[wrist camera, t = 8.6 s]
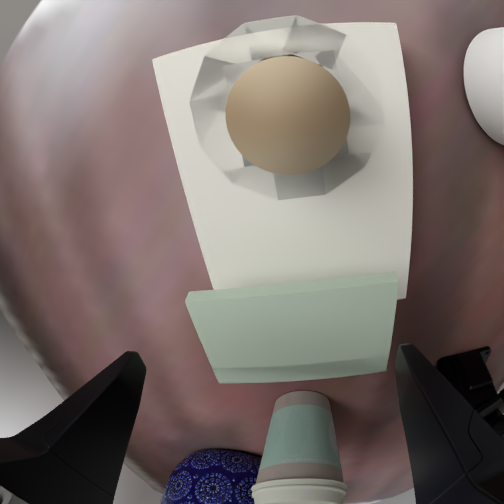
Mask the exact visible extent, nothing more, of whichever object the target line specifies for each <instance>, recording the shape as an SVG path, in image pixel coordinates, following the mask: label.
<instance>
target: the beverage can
mask: <svg viewBox="0 0 504 504" xmlns="http://www.w3.org/2000/svg"><path fill="white" fill-rule="evenodd" d="M464 86H465V91H466V96H467V99H468V102H469V105H470V108H471V110H472V112H473V115H474V117H475V118H476V120H477V122H478V123H479V125H480V126H481V128H482V129H483V130H484V131H485V132H486V134H487V135H488V136H490V137H491V138H492V139H493V140H495V141H496V142H498V143H500V144H502V145H504V27H501V28H494V29H488V30H485V31H482V32H481V33H479V34H478V35H477V36H476V37H475V38H474V39H473V40H472V42H471V43H470V45H469V47H468V49H467V52H466V56H465V60H464Z"/></svg>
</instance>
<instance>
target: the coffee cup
mask: <svg viewBox="0 0 504 504" xmlns="http://www.w3.org/2000/svg"><path fill="white" fill-rule="evenodd" d="M347 488H348V486H347V485H346V484H344V482H343V476H342V469H341V463H340V457H339V451H338V445H337V440H336V434H335V429H334V423H333V418H332V413H331V408H330V403H329V400H328V398H327V397H325V396H324V395H322V394H320V393H317V392H313V391H294V392H290V393H287V394H284V395H282V396H281V397H279V398H278V399H277V400H276V402H275V405H274V409H273V414H272V418H271V422H270V427H269V431H268V435H267V439H266V444H265V448H264V452H263V456H262V460H261V464H260V468H259V472H258V476H257V480H256V484H255V485H254V486H252V488H251V490H252V497H253V498H254V503H255V504H342V503H343V500H344V497H345V496H346V494H347V493H346V490H347Z"/></svg>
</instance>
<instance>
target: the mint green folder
mask: <svg viewBox="0 0 504 504" xmlns="http://www.w3.org/2000/svg"><path fill="white" fill-rule="evenodd" d="M398 283H399V281H398V278H397V276H396V274H395V272H394V271H392V272H384V273H376V274H368V275H359V276H351V277H342V278H333V279H324V280H315V281H305V282H295V283H285V284H275V285H264V286H253V287H241V288H230V289H217V290H204V291H191V292H189V293H188V296H187V298H186V300H185V303H186V306H187V308H188V311H189V313H190V316H191V319H192V321H193V323H194V326H195V328H196V331H197V333H198V336H199V338H200V341H201V343H202V345H203V348H204V350H205V352H206V355H207V357H208V359H209V362H210V364H211V366H212V369H213V371H214V373H215V375H216V378H217V380H218V382H219V383H263V382H286V381H302V380H315V379H326V378H336V377H345V376H354V375H362V374H369V373H376V372H383V371H386V369H387V364H388V358H389V352H390V346H391V340H392V334H393V327H394V319H395V311H396V303H397V294H398Z"/></svg>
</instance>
